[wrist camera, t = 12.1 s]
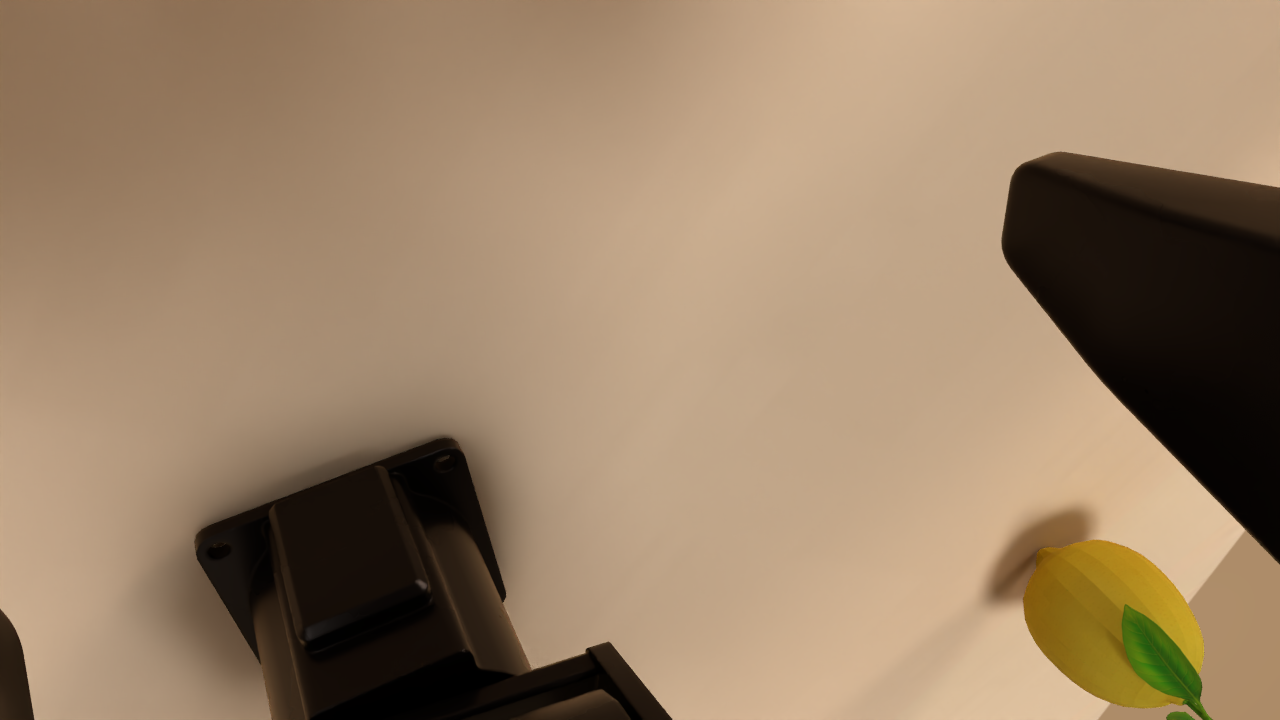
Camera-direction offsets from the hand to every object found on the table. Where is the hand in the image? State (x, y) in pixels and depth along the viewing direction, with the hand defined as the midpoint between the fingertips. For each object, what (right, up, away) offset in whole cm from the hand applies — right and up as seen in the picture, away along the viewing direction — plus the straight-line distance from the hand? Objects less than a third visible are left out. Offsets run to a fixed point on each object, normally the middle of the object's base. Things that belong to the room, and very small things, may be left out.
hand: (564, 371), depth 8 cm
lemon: (+17, -8, +35) cm, 39 cm away
